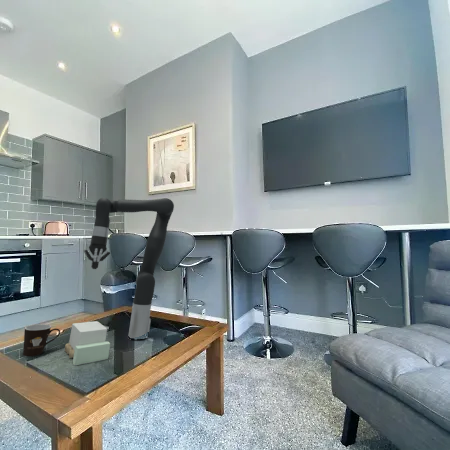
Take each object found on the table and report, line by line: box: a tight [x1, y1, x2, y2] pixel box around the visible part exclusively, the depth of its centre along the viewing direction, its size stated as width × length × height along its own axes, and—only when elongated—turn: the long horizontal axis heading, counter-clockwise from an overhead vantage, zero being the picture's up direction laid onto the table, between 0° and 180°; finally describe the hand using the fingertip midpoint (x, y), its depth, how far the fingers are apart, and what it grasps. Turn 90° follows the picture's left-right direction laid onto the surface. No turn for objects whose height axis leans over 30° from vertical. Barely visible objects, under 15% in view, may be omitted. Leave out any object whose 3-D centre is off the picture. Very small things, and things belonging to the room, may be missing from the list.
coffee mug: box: [22, 323, 61, 357], centre depth 99 cm, size 12×9×10 cm
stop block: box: [72, 340, 111, 366], centre depth 97 cm, size 12×3×6 cm, turn 134°
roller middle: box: [66, 346, 73, 355], centre depth 105 cm, size 12×3×3 cm
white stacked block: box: [68, 320, 108, 351], centre depth 103 cm, size 10×13×8 cm
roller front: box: [68, 349, 74, 359], centre depth 101 cm, size 12×3×3 cm
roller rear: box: [64, 342, 71, 352], centre depth 107 cm, size 12×3×3 cm, turn 134°
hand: (94, 268), depth 127 cm, fingers closed
